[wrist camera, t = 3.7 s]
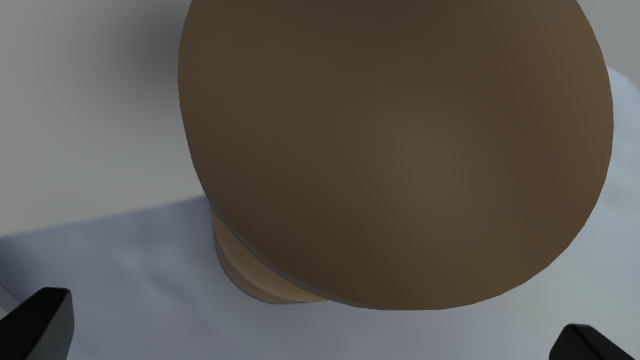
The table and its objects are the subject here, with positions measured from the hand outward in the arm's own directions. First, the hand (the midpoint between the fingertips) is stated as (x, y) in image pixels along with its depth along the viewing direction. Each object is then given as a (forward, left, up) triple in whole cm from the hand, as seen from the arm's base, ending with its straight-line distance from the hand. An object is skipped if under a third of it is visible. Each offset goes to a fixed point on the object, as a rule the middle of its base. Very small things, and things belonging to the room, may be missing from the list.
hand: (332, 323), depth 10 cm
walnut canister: (+2, +2, -10) cm, 10 cm away
